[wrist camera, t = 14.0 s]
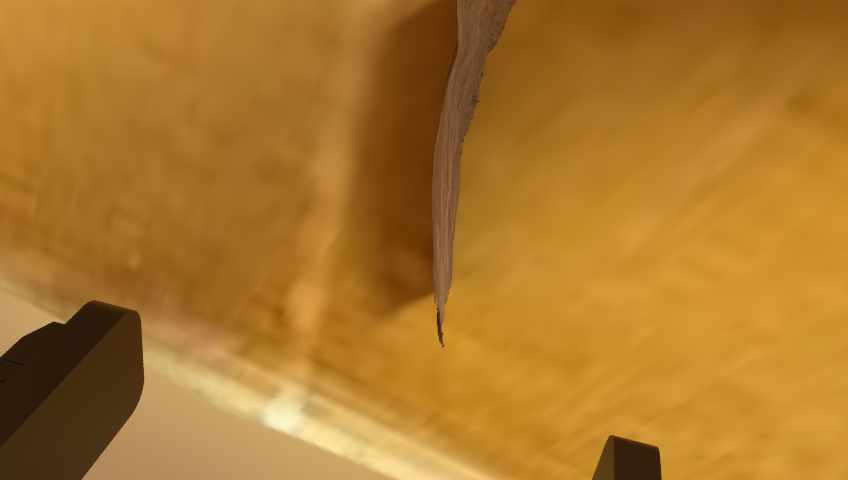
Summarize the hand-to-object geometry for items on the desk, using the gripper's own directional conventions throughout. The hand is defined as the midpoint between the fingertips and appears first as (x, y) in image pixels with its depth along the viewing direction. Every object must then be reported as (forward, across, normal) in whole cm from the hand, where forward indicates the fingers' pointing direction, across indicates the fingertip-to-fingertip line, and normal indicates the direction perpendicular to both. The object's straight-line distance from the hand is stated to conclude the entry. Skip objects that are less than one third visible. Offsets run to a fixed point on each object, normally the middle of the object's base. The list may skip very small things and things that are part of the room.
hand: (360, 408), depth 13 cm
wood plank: (+22, +1, +5) cm, 23 cm away
